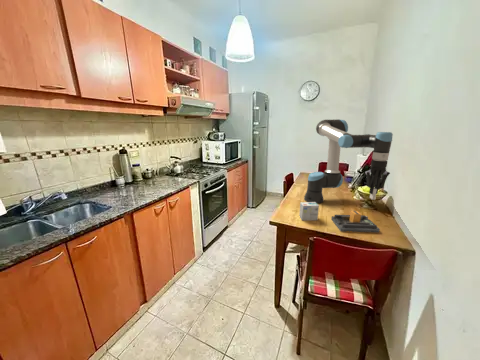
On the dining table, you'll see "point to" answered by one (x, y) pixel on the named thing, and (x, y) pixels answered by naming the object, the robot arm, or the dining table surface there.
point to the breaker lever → (355, 216)
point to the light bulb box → (309, 210)
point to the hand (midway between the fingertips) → (372, 198)
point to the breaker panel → (345, 220)
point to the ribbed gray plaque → (357, 224)
